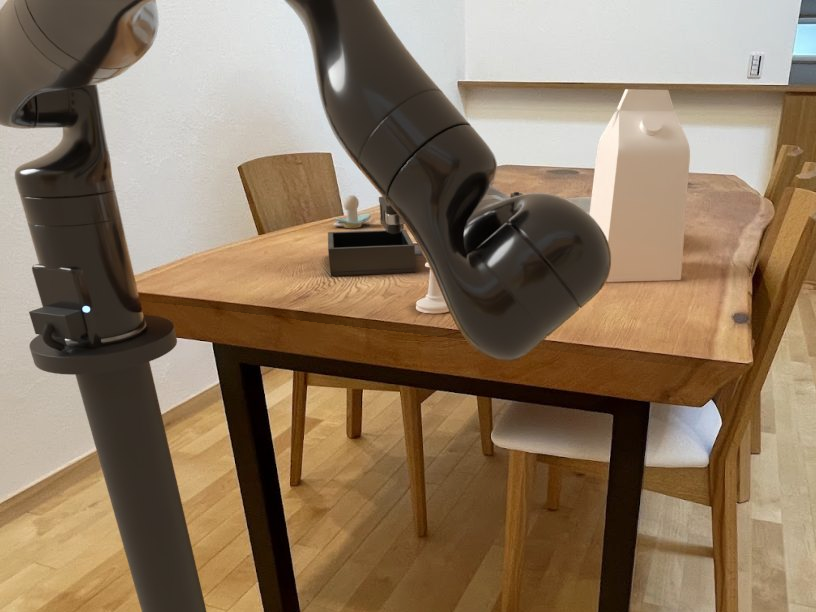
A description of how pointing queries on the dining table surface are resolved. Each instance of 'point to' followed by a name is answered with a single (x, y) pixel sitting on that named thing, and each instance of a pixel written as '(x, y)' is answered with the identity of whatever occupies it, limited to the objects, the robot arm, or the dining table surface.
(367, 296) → the dining table surface
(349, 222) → the pacifier
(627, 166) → the milk
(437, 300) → the chess piece
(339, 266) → the dark grey open box
